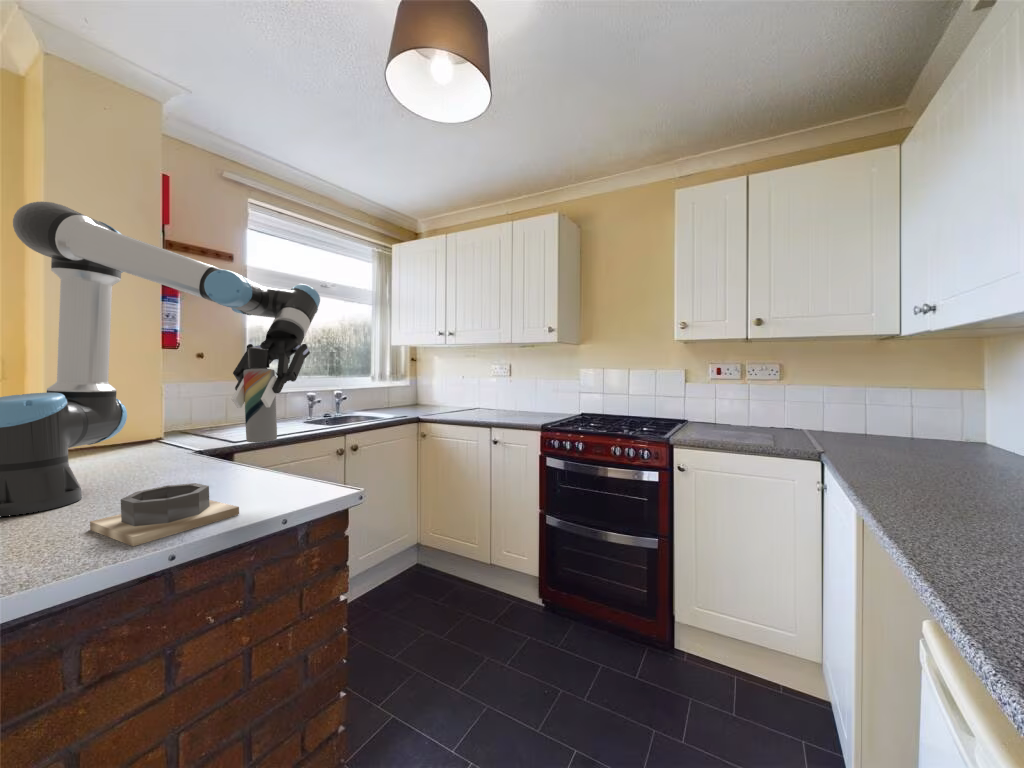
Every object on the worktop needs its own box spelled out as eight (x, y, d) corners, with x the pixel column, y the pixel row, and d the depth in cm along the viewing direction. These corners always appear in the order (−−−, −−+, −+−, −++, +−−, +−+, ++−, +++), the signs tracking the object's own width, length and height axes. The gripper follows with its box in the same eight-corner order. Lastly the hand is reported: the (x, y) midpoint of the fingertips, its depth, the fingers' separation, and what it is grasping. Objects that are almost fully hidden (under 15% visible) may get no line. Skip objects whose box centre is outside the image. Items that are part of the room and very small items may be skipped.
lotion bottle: (260, 438, 91) (256, 348, 91) (283, 438, 90) (279, 347, 90) (239, 442, 86) (235, 346, 85) (264, 442, 85) (260, 345, 84)
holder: (90, 529, 72) (88, 498, 72) (194, 503, 86) (193, 477, 86) (133, 546, 65) (131, 511, 65) (239, 514, 79) (238, 486, 79)
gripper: (330, 342, 103) (302, 414, 87) (256, 342, 102) (214, 415, 86) (321, 318, 98) (289, 390, 82) (243, 318, 97) (195, 391, 81)
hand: (251, 403), depth 84 cm, fingers closed on lotion bottle, 5 cm apart
